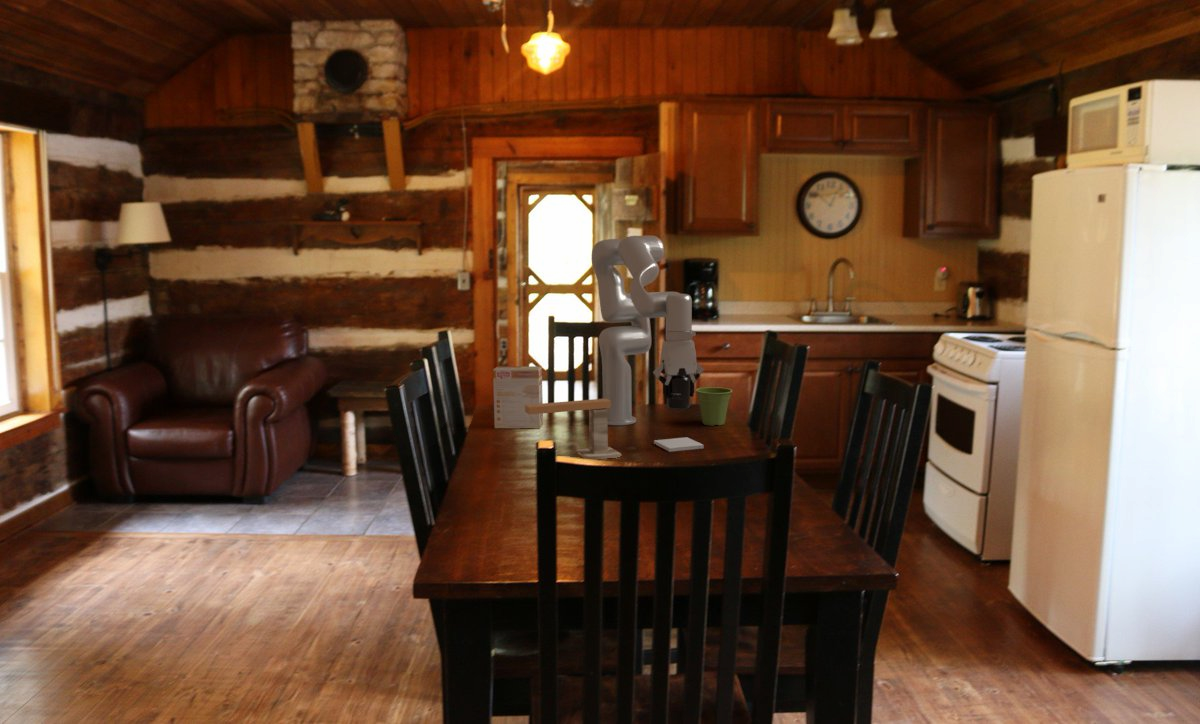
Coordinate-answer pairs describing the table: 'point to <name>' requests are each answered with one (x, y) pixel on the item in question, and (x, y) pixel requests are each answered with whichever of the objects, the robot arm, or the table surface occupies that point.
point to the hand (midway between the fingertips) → (678, 396)
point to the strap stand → (598, 437)
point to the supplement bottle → (679, 391)
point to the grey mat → (678, 444)
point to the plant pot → (713, 404)
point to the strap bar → (567, 406)
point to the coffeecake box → (517, 396)
